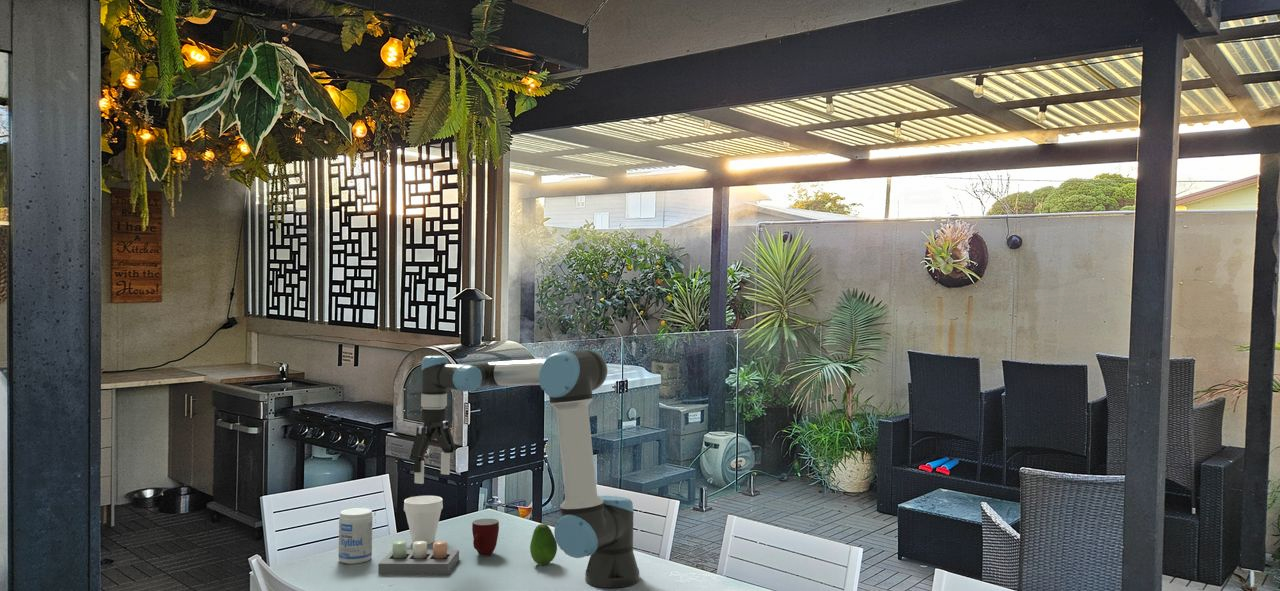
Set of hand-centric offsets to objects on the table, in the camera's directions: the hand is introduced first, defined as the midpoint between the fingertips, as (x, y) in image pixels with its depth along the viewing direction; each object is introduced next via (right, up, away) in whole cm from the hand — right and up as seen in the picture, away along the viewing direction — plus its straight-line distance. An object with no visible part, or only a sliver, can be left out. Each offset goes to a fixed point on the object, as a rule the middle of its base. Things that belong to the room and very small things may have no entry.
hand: (432, 478), depth 260 cm
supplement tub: (-24, -25, +2) cm, 35 cm away
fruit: (+34, -25, -3) cm, 42 cm away
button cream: (-3, -22, -5) cm, 23 cm away
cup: (-8, -25, +22) cm, 34 cm away
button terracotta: (+3, -22, -5) cm, 23 cm away
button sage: (-9, -22, -4) cm, 24 cm away
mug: (+14, -25, +7) cm, 30 cm away
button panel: (-3, -25, -5) cm, 25 cm away
